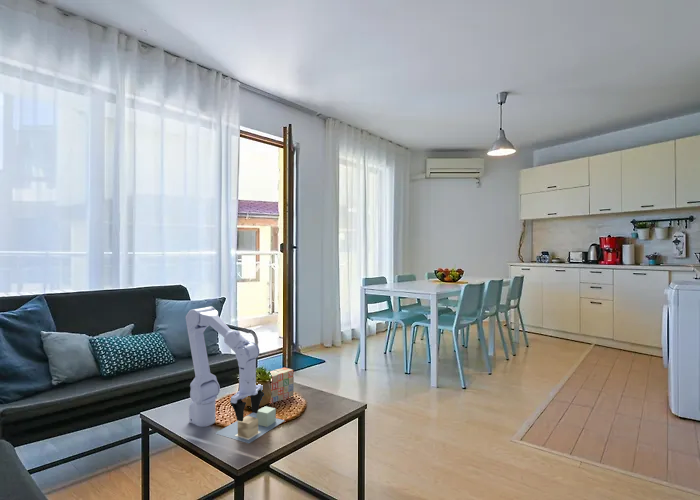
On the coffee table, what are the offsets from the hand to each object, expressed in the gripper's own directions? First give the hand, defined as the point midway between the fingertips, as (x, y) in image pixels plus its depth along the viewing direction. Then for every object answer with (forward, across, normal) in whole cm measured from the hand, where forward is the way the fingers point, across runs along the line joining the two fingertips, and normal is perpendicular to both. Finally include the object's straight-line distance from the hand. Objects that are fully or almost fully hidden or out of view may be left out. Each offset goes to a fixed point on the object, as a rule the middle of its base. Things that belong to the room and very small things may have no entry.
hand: (247, 416), depth 141 cm
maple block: (+6, 0, 0) cm, 6 cm away
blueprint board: (+7, +5, +3) cm, 9 cm away
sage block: (+6, +10, 0) cm, 12 cm away
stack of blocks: (+8, +29, +13) cm, 32 cm away
